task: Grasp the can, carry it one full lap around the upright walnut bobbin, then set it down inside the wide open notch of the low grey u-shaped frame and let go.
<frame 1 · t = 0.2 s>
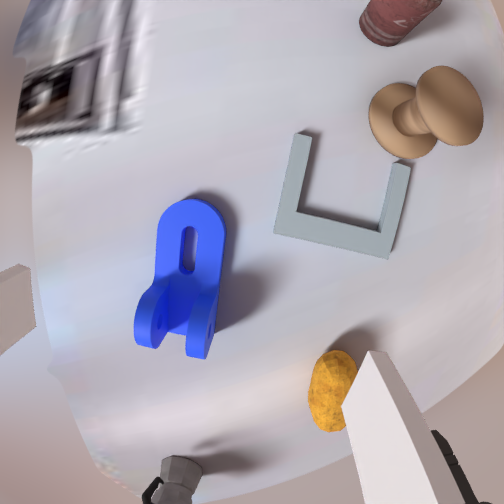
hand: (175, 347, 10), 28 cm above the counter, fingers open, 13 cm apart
bracket: (190, 267, 39), on the counter
bobbin: (403, 121, 32), on the counter
potato: (328, 376, 42), on the counter
can: (378, 29, 29), on the counter
grey u-shaped frame: (343, 197, 35), on the counter
coffeepot: (180, 463, 50), on the counter
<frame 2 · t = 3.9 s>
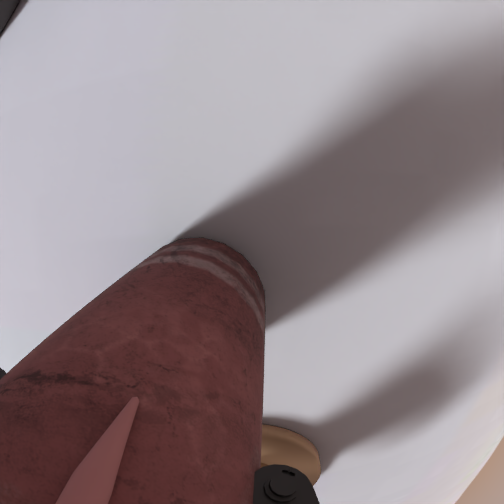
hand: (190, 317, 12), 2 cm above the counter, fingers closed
bobbin: (250, 464, 17), on the counter
can: (203, 293, 14), on the counter, touching hand
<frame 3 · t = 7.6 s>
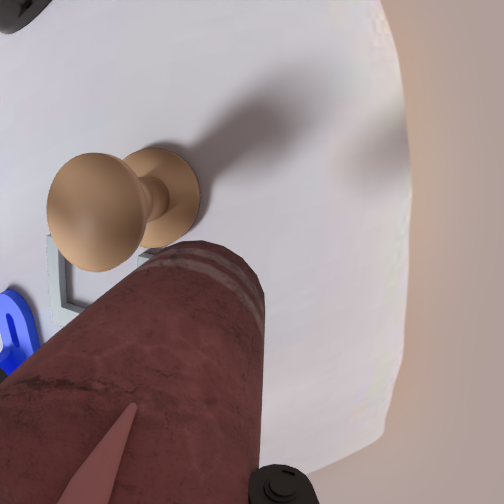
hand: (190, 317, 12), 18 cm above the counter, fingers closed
bracket: (24, 339, 36), on the counter
bobbin: (153, 197, 29), on the counter
can: (203, 295, 14), point 16 cm above the counter, touching hand
grey u-shaped frame: (100, 291, 32), on the counter
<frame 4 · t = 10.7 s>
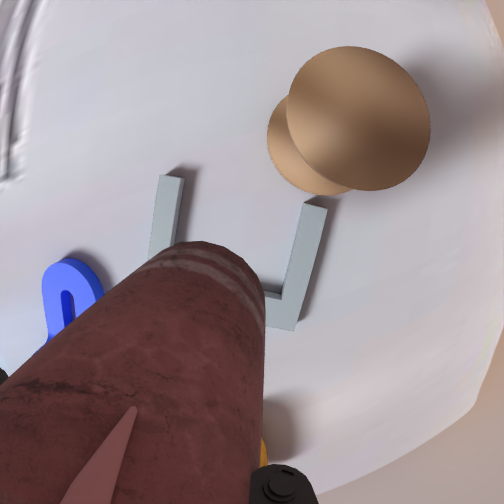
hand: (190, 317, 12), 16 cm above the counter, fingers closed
bracket: (81, 326, 32), on the counter
bobbin: (322, 140, 25), on the counter
can: (203, 296, 14), point 14 cm above the counter, touching hand
grey u-shaped frame: (230, 252, 28), on the counter
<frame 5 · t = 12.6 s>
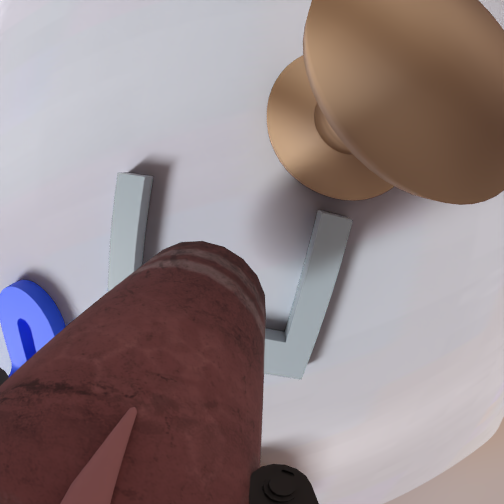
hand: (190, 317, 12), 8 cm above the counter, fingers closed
bracket: (46, 357, 24), on the counter
bobbin: (344, 122, 17), on the counter
can: (203, 296, 14), point 6 cm above the counter, touching hand
grey u-shaped frame: (216, 278, 20), on the counter
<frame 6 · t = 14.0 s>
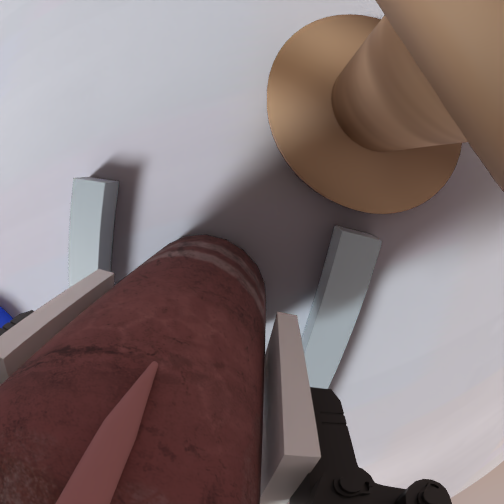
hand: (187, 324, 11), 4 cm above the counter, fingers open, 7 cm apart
bobbin: (369, 110, 12), on the counter
can: (207, 287, 15), on the counter
grey u-shaped frame: (202, 312, 15), on the counter
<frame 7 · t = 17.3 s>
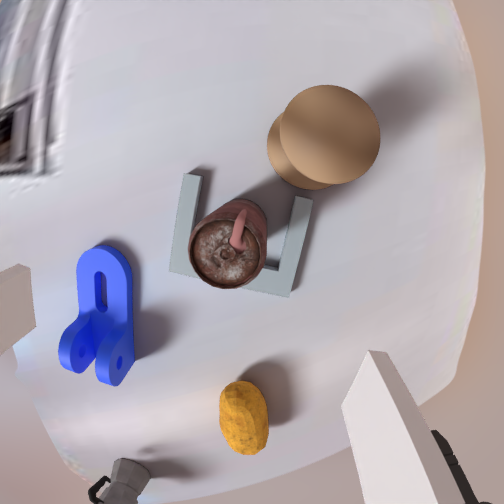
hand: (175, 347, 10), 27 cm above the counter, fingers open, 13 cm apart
bracket: (108, 304, 40), on the counter
bobbin: (310, 147, 33), on the counter
potato: (245, 402, 43), on the counter
can: (241, 222, 36), on the counter
grey u-shaped frame: (238, 234, 36), on the counter
coffeepot: (130, 465, 51), on the counter
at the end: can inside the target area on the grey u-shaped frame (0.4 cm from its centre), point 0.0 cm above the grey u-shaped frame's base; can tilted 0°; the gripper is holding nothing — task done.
